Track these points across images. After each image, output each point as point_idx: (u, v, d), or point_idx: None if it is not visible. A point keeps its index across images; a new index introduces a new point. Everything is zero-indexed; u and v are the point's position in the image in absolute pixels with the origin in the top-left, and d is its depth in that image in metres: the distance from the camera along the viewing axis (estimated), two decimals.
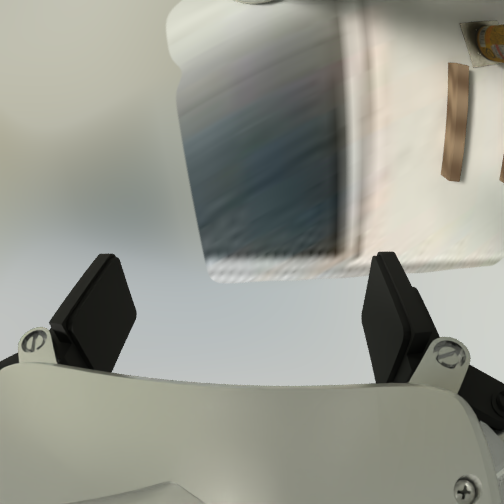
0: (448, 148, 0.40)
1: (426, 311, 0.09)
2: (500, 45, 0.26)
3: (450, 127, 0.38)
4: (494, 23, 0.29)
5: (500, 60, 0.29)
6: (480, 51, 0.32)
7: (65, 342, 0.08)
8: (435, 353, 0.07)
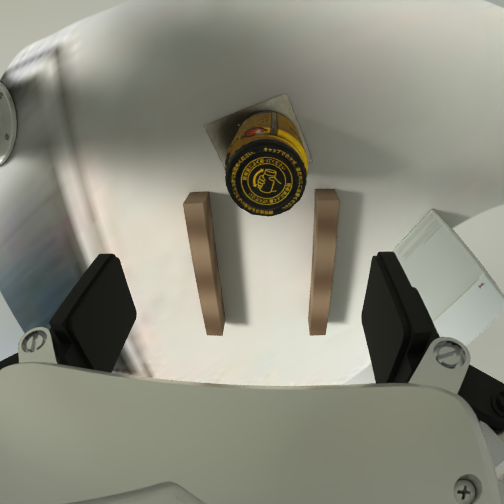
0: None
1: (426, 311, 0.09)
2: None
3: None
4: (279, 101, 0.28)
5: None
6: None
7: (65, 342, 0.08)
8: (435, 353, 0.07)
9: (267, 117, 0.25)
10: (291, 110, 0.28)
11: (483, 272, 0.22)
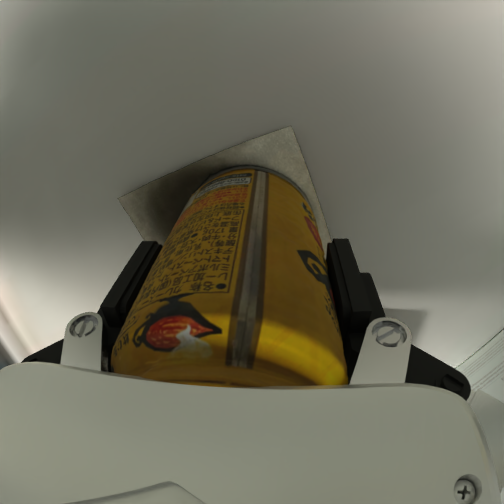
0: None
1: (376, 294, 0.10)
2: None
3: None
4: (275, 143, 0.13)
5: None
6: None
7: (115, 326, 0.09)
8: (376, 332, 0.08)
9: (239, 209, 0.10)
10: (302, 165, 0.13)
11: None
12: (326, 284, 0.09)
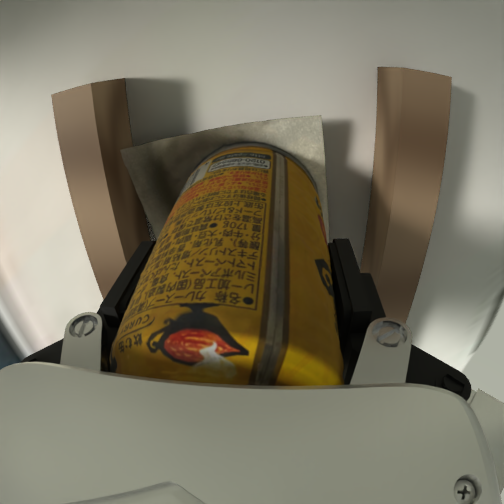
0: None
1: (376, 295, 0.10)
2: None
3: None
4: (300, 129, 0.12)
5: None
6: None
7: (115, 326, 0.09)
8: (376, 332, 0.08)
9: (260, 202, 0.09)
10: (321, 156, 0.12)
11: None
12: (334, 296, 0.09)
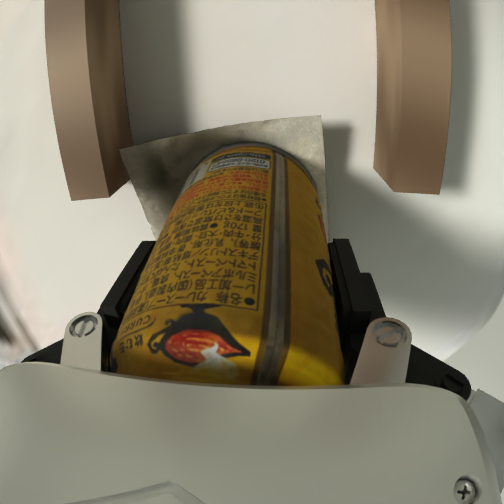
0: None
1: (376, 294, 0.10)
2: None
3: None
4: (300, 129, 0.12)
5: None
6: None
7: (115, 326, 0.09)
8: (376, 332, 0.08)
9: (261, 202, 0.09)
10: (321, 156, 0.12)
11: None
12: (334, 296, 0.09)
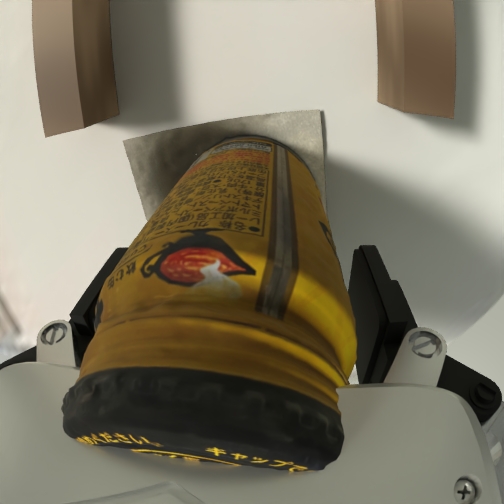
0: None
1: (406, 303, 0.09)
2: None
3: None
4: (299, 123, 0.12)
5: None
6: None
7: (85, 334, 0.09)
8: (411, 343, 0.07)
9: (263, 169, 0.09)
10: (320, 150, 0.13)
11: None
12: (339, 262, 0.08)
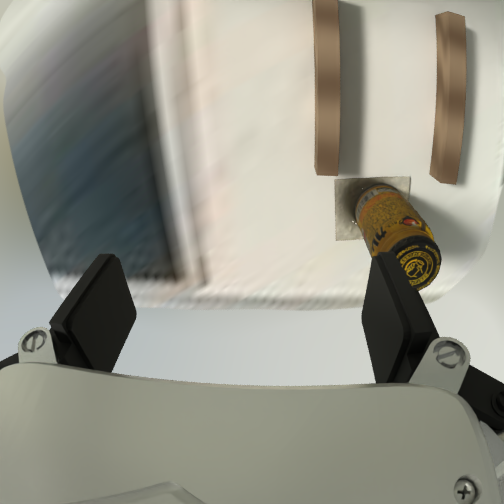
0: (316, 124, 0.29)
1: (426, 311, 0.09)
2: (366, 238, 0.29)
3: (316, 90, 0.27)
4: (402, 181, 0.32)
5: None
6: (356, 219, 0.35)
7: (65, 342, 0.08)
8: (435, 353, 0.07)
9: (403, 200, 0.28)
10: (407, 191, 0.32)
11: None
12: None
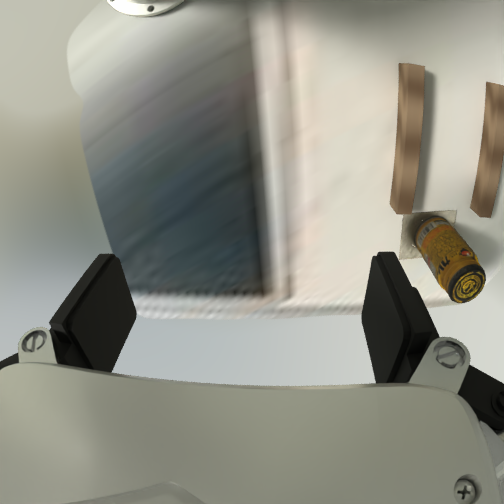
0: (397, 173, 0.35)
1: (426, 311, 0.09)
2: (431, 262, 0.36)
3: (400, 146, 0.33)
4: (451, 213, 0.38)
5: None
6: (415, 243, 0.41)
7: (65, 342, 0.08)
8: (435, 353, 0.07)
9: (456, 233, 0.35)
10: (454, 221, 0.39)
11: None
12: None
